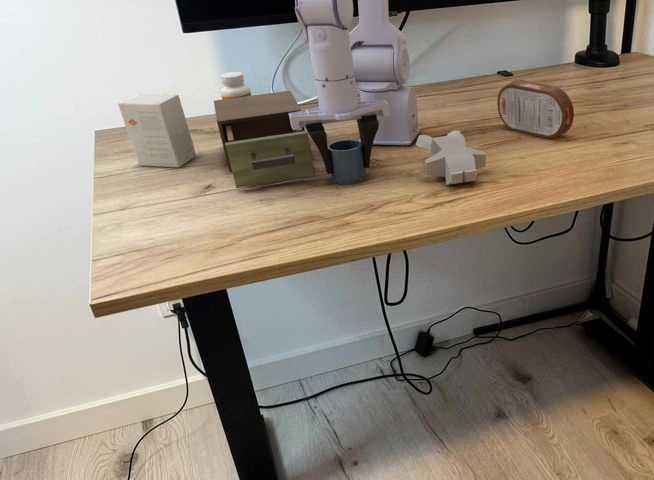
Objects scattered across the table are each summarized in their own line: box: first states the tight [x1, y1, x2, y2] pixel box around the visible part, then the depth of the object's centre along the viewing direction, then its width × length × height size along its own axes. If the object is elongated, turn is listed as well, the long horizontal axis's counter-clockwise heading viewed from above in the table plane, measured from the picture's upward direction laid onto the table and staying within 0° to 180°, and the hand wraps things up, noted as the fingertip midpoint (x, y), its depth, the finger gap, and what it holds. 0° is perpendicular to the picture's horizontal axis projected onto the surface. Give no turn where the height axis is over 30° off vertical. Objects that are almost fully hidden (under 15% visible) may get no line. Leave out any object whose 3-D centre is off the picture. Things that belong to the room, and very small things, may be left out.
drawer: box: [225, 115, 316, 189], centre depth 101 cm, size 17×12×7 cm
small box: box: [117, 93, 197, 168], centre depth 109 cm, size 8×6×10 cm
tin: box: [496, 79, 575, 140], centre depth 113 cm, size 15×3×8 cm, turn 47°
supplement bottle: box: [220, 71, 252, 100], centre depth 124 cm, size 5×5×10 cm
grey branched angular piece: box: [415, 130, 487, 186], centre depth 101 cm, size 10×5×15 cm
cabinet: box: [213, 90, 306, 173], centre depth 111 cm, size 13×13×8 cm
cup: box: [327, 138, 367, 186], centre depth 100 cm, size 5×5×5 cm
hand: (347, 168), depth 101 cm, fingers closed on cup, 5 cm apart
